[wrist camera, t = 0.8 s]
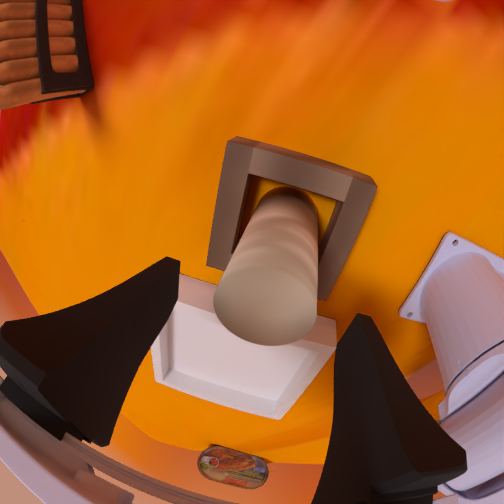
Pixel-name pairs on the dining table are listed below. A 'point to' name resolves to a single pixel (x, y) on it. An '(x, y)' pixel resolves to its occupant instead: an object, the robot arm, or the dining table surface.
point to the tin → (232, 467)
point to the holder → (296, 174)
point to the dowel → (273, 272)
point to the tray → (235, 357)
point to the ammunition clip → (42, 52)
